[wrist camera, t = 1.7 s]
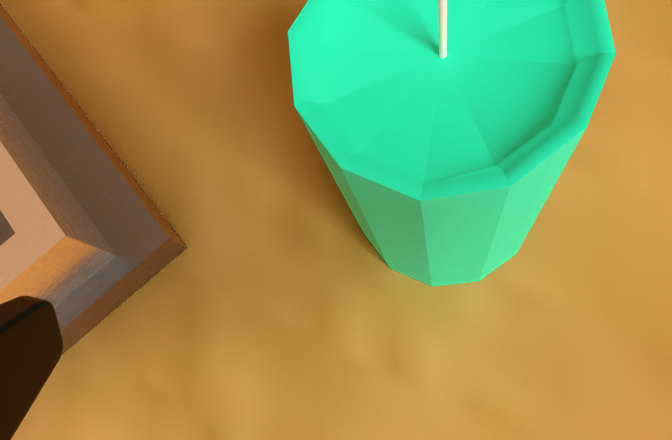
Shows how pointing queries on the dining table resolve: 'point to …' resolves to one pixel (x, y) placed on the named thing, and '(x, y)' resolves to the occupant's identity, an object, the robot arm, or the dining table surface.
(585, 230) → the dining table surface
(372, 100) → the candle
